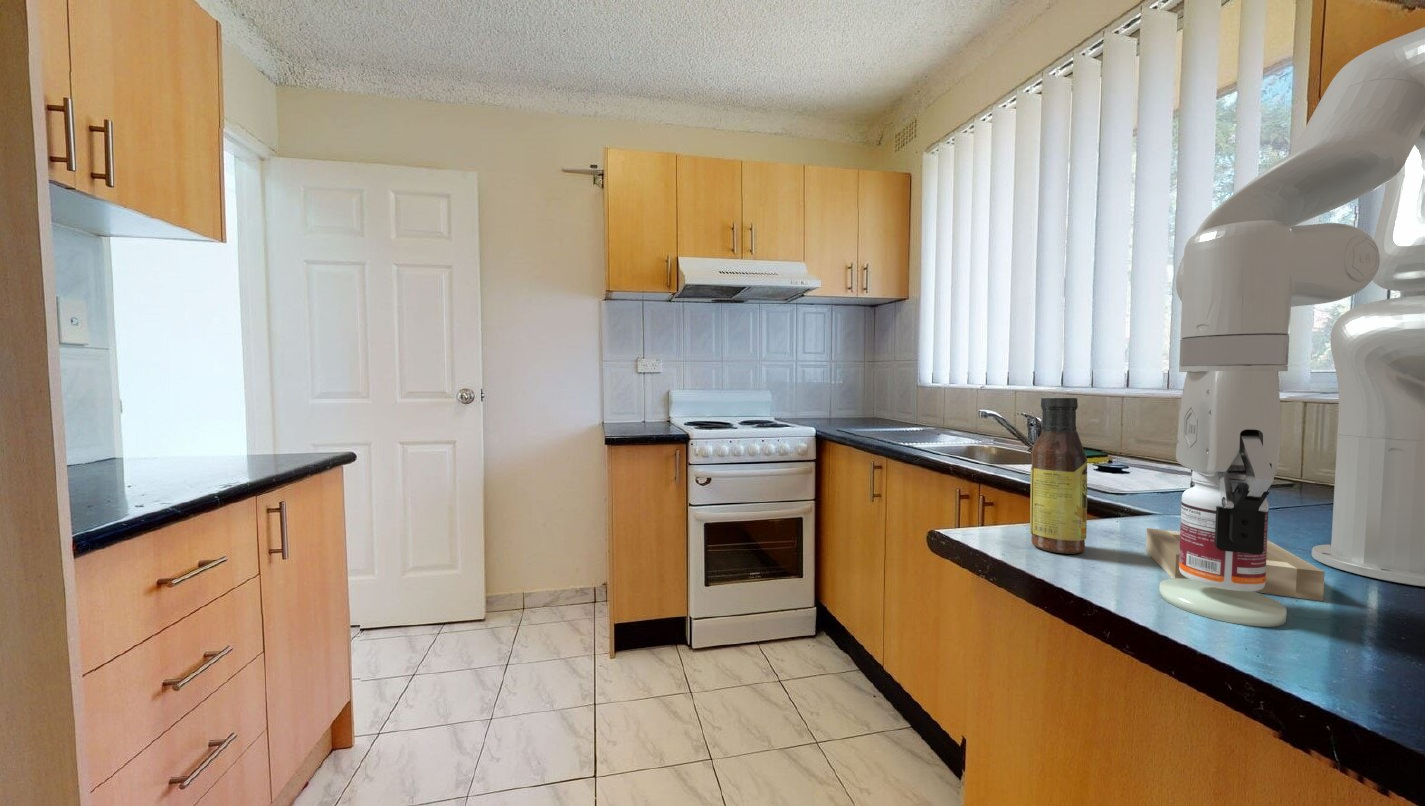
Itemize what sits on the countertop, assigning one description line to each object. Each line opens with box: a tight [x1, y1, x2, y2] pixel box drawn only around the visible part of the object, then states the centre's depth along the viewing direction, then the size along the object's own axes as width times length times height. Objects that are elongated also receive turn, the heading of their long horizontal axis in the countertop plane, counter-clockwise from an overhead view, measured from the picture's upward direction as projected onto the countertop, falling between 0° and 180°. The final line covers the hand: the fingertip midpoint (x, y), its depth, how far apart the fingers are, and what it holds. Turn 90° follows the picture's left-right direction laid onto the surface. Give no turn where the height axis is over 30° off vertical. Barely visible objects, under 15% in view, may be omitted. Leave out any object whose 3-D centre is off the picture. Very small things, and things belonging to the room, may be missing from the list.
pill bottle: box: [1179, 470, 1270, 591], centre depth 52 cm, size 6×6×11 cm
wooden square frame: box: [1145, 528, 1325, 602], centre depth 61 cm, size 12×12×3 cm
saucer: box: [1158, 578, 1287, 628], centre depth 53 cm, size 9×9×1 cm
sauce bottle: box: [1029, 396, 1088, 555], centre depth 70 cm, size 6×6×20 cm
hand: (1223, 539), depth 52 cm, fingers closed on pill bottle, 6 cm apart
